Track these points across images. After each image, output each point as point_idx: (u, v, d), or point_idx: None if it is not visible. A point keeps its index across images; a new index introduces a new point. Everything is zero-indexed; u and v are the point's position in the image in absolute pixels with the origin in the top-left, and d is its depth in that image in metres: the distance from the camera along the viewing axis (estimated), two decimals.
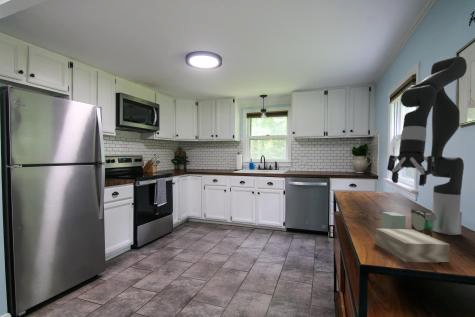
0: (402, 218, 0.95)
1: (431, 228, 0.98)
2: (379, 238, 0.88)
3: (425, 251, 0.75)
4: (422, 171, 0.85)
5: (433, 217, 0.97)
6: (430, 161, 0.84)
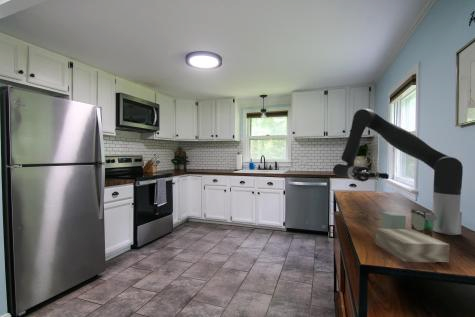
0: (402, 218, 0.95)
1: (431, 228, 0.98)
2: (379, 238, 0.88)
3: (424, 251, 0.75)
4: (361, 177, 1.13)
5: (433, 217, 0.97)
6: None
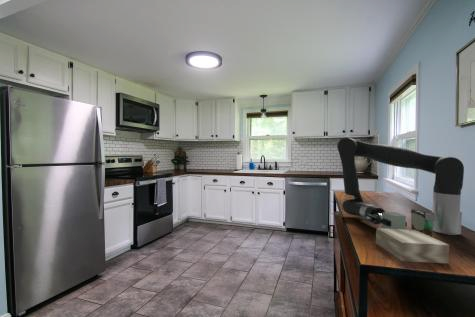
0: (402, 218, 0.95)
1: (431, 228, 0.98)
2: (379, 237, 0.88)
3: (423, 251, 0.75)
4: None
5: (433, 217, 0.97)
6: None
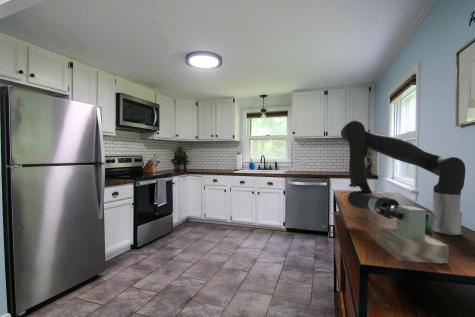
0: (422, 213, 0.80)
1: (431, 228, 0.98)
2: (380, 237, 0.89)
3: (421, 251, 0.75)
4: None
5: (433, 217, 0.97)
6: None
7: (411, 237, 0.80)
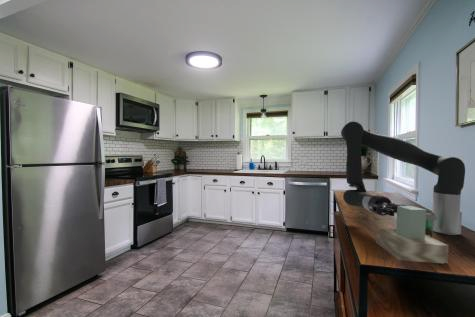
0: (422, 212, 0.80)
1: (431, 228, 0.98)
2: (379, 237, 0.89)
3: (421, 251, 0.76)
4: None
5: (433, 217, 0.97)
6: None
7: (412, 237, 0.80)
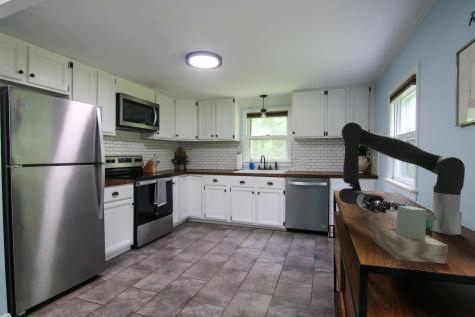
0: (422, 212, 0.80)
1: (431, 228, 0.98)
2: (379, 237, 0.89)
3: (420, 251, 0.76)
4: None
5: (433, 217, 0.97)
6: None
7: (413, 237, 0.80)
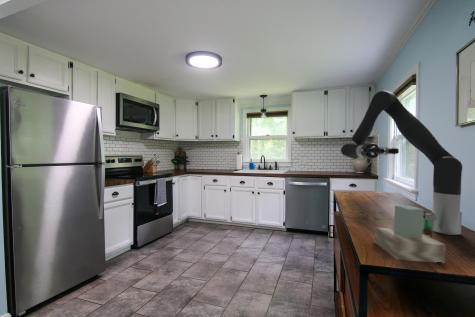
0: (419, 212, 0.81)
1: (431, 228, 0.98)
2: (378, 237, 0.89)
3: (418, 251, 0.76)
4: (371, 152, 1.14)
5: (433, 217, 0.97)
6: (363, 152, 1.17)
7: (410, 236, 0.80)
